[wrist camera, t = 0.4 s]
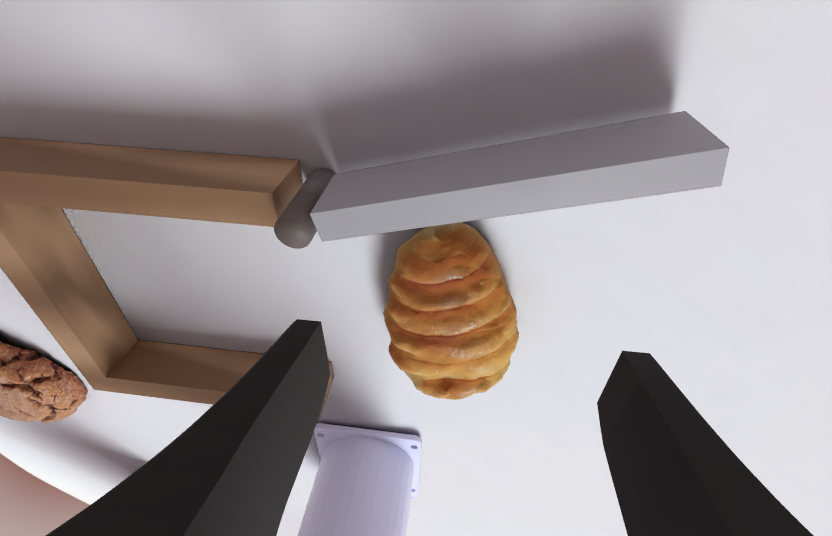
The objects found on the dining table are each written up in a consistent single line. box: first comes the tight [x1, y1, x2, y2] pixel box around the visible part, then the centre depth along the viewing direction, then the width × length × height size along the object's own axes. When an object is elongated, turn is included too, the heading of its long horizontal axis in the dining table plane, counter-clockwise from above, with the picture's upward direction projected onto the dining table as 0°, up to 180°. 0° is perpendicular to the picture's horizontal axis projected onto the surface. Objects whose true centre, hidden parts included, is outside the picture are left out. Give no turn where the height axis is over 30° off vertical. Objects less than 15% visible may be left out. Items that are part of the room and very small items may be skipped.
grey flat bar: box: [310, 111, 729, 241], centre depth 15 cm, size 13×1×3 cm, turn 104°
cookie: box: [0, 341, 88, 423], centre depth 30 cm, size 10×11×3 cm
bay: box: [0, 137, 335, 418], centre depth 21 cm, size 15×16×4 cm
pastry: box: [383, 222, 519, 400], centre depth 20 cm, size 9×7×4 cm
